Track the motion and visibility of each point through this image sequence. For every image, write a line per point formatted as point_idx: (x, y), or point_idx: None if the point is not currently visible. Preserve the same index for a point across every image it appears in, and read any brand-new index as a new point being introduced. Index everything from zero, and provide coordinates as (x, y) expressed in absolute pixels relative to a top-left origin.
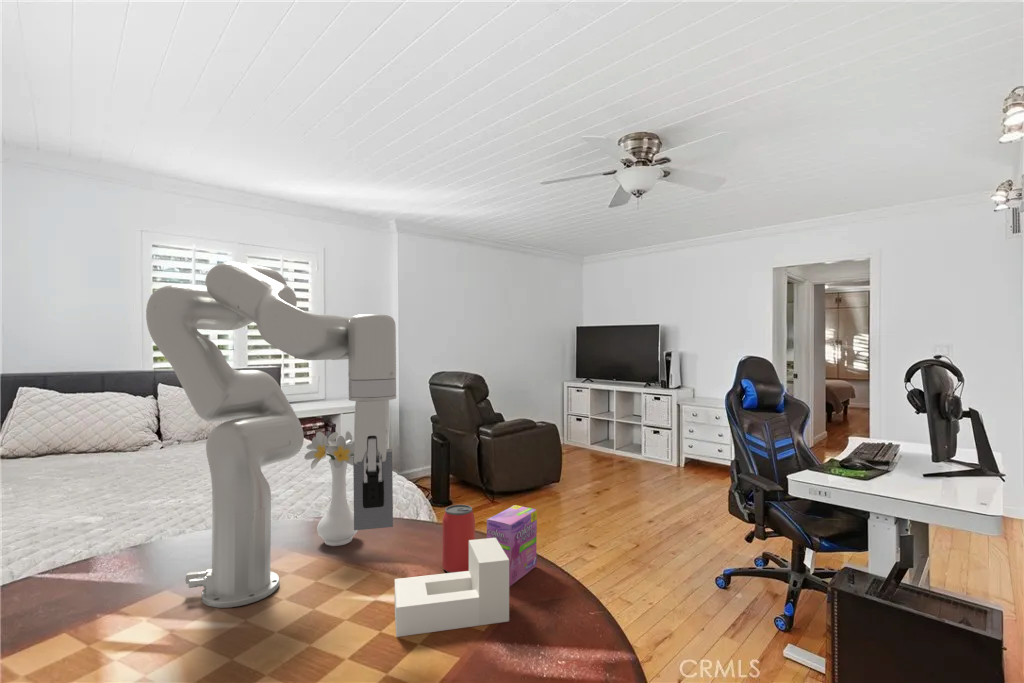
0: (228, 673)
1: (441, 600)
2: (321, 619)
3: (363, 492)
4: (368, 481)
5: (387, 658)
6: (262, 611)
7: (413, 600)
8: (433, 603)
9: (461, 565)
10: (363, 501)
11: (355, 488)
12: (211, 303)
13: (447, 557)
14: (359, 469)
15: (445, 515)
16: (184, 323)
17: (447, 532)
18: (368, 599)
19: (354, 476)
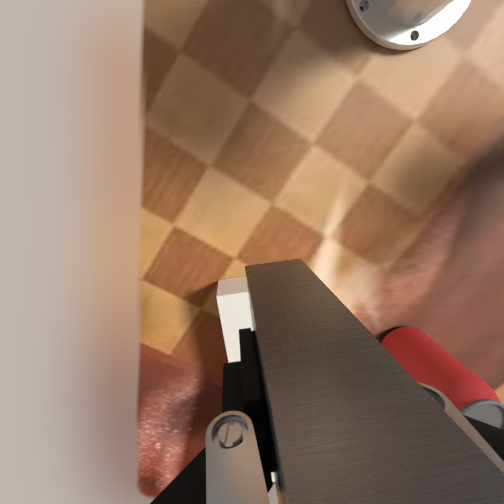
0: (144, 61)
1: (232, 355)
2: (278, 165)
3: (242, 367)
4: (205, 450)
5: (171, 275)
6: (320, 49)
7: (236, 318)
8: (225, 345)
9: None
10: (239, 342)
11: (258, 341)
12: None
13: (399, 347)
14: (277, 455)
15: (468, 395)
16: None
17: (429, 376)
18: (327, 226)
19: (266, 383)
